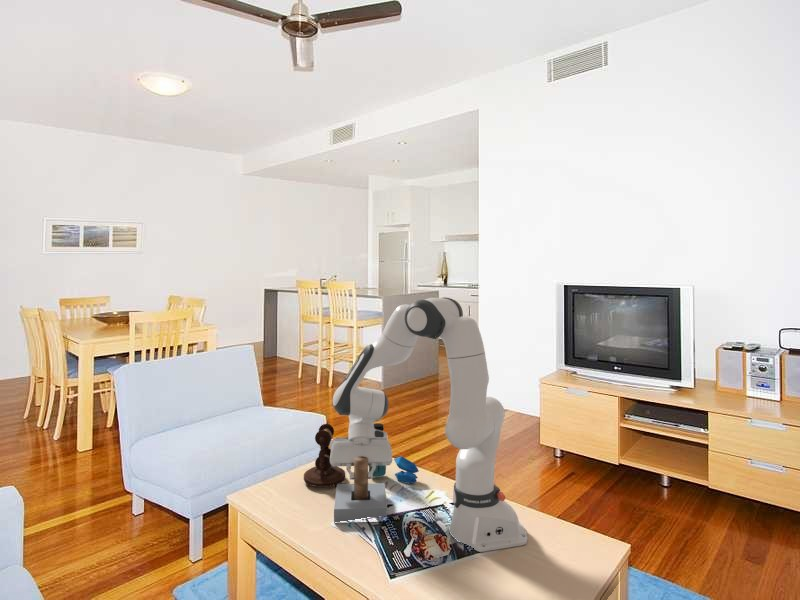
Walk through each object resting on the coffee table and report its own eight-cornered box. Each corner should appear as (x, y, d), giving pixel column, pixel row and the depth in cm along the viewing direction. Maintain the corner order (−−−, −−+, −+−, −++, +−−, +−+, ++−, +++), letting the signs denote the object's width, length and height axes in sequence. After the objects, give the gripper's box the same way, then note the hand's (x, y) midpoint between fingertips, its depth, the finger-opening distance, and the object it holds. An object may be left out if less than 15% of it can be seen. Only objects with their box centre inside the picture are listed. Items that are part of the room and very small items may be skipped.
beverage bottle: (384, 472, 178) (384, 420, 176) (388, 480, 171) (388, 426, 170) (367, 474, 176) (367, 421, 175) (370, 482, 170) (370, 428, 168)
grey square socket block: (384, 496, 160) (384, 483, 160) (386, 522, 144) (387, 507, 144) (336, 497, 159) (336, 484, 158) (333, 523, 143) (334, 509, 142)
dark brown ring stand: (342, 491, 163) (342, 434, 161) (299, 490, 163) (299, 434, 161) (347, 472, 178) (348, 420, 176) (308, 471, 178) (308, 419, 176)
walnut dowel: (367, 498, 154) (368, 456, 152) (367, 505, 149) (368, 461, 148) (354, 498, 153) (354, 456, 152) (353, 505, 149) (354, 462, 148)
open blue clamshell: (417, 470, 165) (389, 457, 170) (411, 491, 167) (384, 477, 171) (425, 463, 171) (398, 450, 176) (420, 483, 173) (393, 470, 178)
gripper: (329, 433, 156) (327, 475, 147) (391, 432, 157) (393, 474, 148) (330, 441, 160) (328, 483, 152) (390, 440, 162) (392, 481, 153)
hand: (361, 478), depth 150 cm, fingers closed on walnut dowel, 4 cm apart
